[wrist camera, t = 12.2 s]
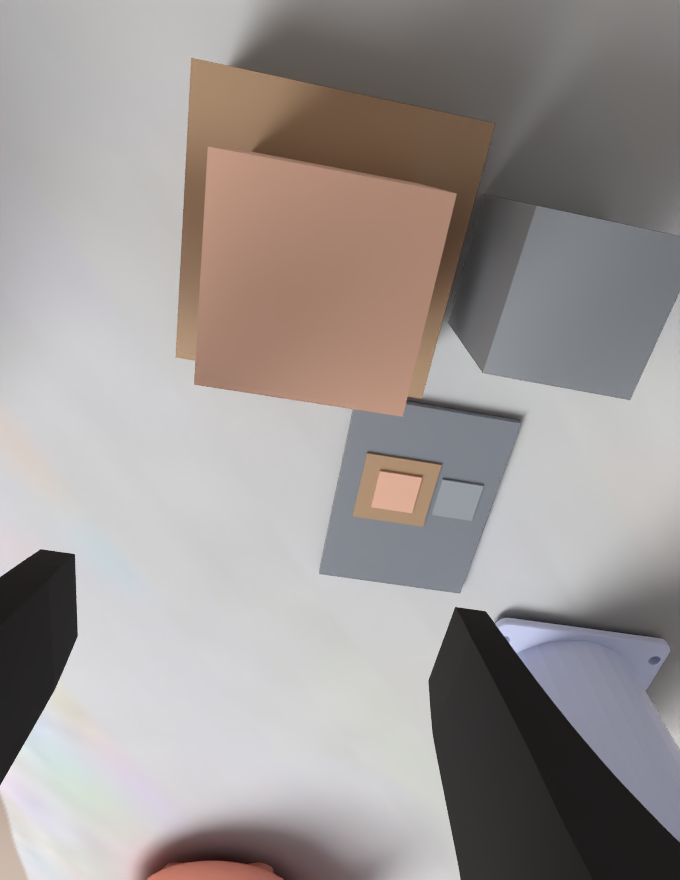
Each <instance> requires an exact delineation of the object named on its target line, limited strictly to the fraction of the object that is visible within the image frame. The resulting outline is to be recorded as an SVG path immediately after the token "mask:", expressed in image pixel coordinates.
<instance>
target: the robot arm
mask: <svg viewBox="0 0 680 880" xmlns="http://www.w3.org/2000/svg"><path fill="white" fill-rule="evenodd" d="M77 636H78V633H77V604H76V575H75V554H70V553H62V552H55V551H48V550H39V551H38V552H36V553H35V554H33V555H32V556H30V557H29V558H27V559H26V560H24V561H23V562H21V563H20V564H18V565H17V566H16V567H14V568H13V569H11V570H10V571H8V572H7V573H6V574H4V575H3V576H1V577H0V785H1V783H2V781H3V779H4V778H5V776H6V774H7V772H8V771H9V769H10V767H11V765H12V764H13V762H14V760H15V758H16V757H17V755H18V753H19V752H20V750H21V748H22V746H23V745H24V743H25V741H26V739H27V738H28V736H29V734H30V732H31V731H32V729H33V727H34V725H35V724H36V722H37V720H38V718H39V717H40V715H41V713H42V711H43V710H44V708H45V706H46V704H47V702H48V701H49V699H50V697H51V695H52V693H53V692H54V690H55V688H56V685H57V683H58V681H59V679H60V676H61V674H62V672H63V670H64V667H65V665H66V663H67V660H68V658H69V655H70V653H71V651H72V648H73V646H74V643H75V641H76V639H77ZM504 636H506V637H504ZM669 653H670V647H669V645H668V644H667V642H666V641H665V640H664V639H661V638H654V637H647V636H639V635H632V634H625V633H617V632H610V631H602V630H595V629H588V628H580V627H573V626H566V625H558V624H551V623H543V622H536V621H529V620H521V619H514V618H503V619H500V620H499V621H497V622H496V624H495V623H494V622H493V620H492V619H491V618H490V617H489V615H488V614H487V613H486V611H479V610H472V609H464V608H457V607H455V609H454V612H453V615H452V618H451V620H450V623H449V626H448V629H447V631H446V634H445V637H444V640H443V642H442V645H441V648H440V651H439V653H438V656H437V659H436V662H435V664H434V667H433V670H432V673H431V675H430V678H429V694H430V708H431V720H432V731H433V738H434V744H435V749H436V754H437V759H438V765H439V770H440V775H441V780H442V785H443V790H444V795H445V800H446V805H447V810H448V815H449V820H450V825H451V830H452V835H453V840H454V845H455V850H456V855H457V860H458V866H459V872H460V878H461V880H680V749H679V748H678V746H677V744H676V743H675V741H674V739H673V737H672V736H671V734H670V732H669V731H668V729H667V727H666V725H665V724H664V722H663V720H662V719H661V717H660V715H659V713H658V712H657V710H656V708H655V707H654V705H653V703H652V701H651V700H650V698H649V696H648V695H647V693H646V690H647V688H648V687H649V685H650V684H651V682H652V680H653V679H654V677H655V675H656V674H657V672H658V671H659V669H660V667H661V666H662V664H663V663H664V661H665V659H666V658H667V656H668V654H669Z"/></svg>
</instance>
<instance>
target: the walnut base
mask: <svg viewBox="0 0 680 880" xmlns="http://www.w3.org/2000/svg"><path fill="white" fill-rule="evenodd" d="M494 126H495V123H492V122H487V121H483V120H478V119H473V118H469V117H464V116H459V115H455V114H450V113H445V112H441V111H436V110H431V109H427V108H422V107H417V106H413V105H408V104H403V103H399V102H394V101H390V100H385V99H380V98H376V97H371V96H366V95H362V94H357V93H352V92H348V91H343V90H338V89H334V88H329V87H324V86H320V85H315V84H311V83H306V82H301V81H297V80H292V79H287V78H283V77H278V76H273V75H269V74H264V73H259V72H255V71H250V70H245V69H241V68H236V67H231V66H227V65H222V64H218V63H213V62H208V61H204V60H199V59H194V58H191V75H190V94H189V113H188V132H187V151H186V170H185V189H184V209H183V228H182V247H181V266H180V285H179V304H178V323H177V342H176V357H177V358H183V359H189V360H195V361H196V343H197V326H198V308H199V291H200V274H201V256H202V239H203V221H204V204H205V187H206V169H207V152H208V147H217V148H226V149H234V150H243V151H251V152H257V153H262V154H267V155H272V156H278V157H283V158H288V159H293V160H299V161H304V162H309V163H314V164H320V165H325V166H330V167H335V168H341V169H346V170H351V171H356V172H362V173H367V174H372V175H377V176H383V177H388V178H393V179H398V180H404V181H409V182H414V183H419V184H422V185H426V186H430V187H434V188H437V189H441V190H445V191H449V192H452V193H456V194H457V195H456V199H455V203H454V208H453V212H452V216H451V220H450V224H449V228H448V232H447V236H446V240H445V245H444V249H443V253H442V257H441V261H440V265H439V269H438V273H437V278H436V282H435V286H434V290H433V294H432V298H431V302H430V306H429V311H428V315H427V319H426V323H425V327H424V331H423V335H422V339H421V344H420V348H419V352H418V356H417V360H416V364H415V368H414V372H413V377H412V381H411V385H410V389H409V393H408V397H414V398H420V399H422V396H423V392H424V388H425V385H426V381H427V377H428V373H429V370H430V366H431V362H432V358H433V355H434V351H435V347H436V344H437V340H438V336H439V332H440V329H441V325H442V321H443V317H444V314H445V310H446V306H447V302H448V299H449V295H450V291H451V287H452V284H453V280H454V276H455V272H456V269H457V265H458V261H459V257H460V254H461V250H462V246H463V242H464V239H465V235H466V231H467V227H468V224H469V220H470V216H471V213H472V209H473V205H474V201H475V198H476V194H477V190H478V186H479V183H480V179H481V175H482V171H483V168H484V164H485V160H486V156H487V153H488V149H489V145H490V141H491V138H492V134H493V130H494Z"/></svg>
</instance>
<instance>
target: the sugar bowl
mask: <svg viewBox="0 0 680 880" xmlns="http://www.w3.org/2000/svg"><path fill="white" fill-rule="evenodd" d="M273 873H274V870H273V868H272V867H271V866H269V865H267V864H265V863H259V862H254V863H249V864H242V863H237V862H228V861H195V862H187V863H180V862H173V863H169V864H166V865H165V866H164V867H163V868H162V870H160V871H158V872H156V873H155V874H153V875H151V876H150V877H149V878H147V879H146V880H283V879H282V878H280V877H279V876H277V875H275V874H273Z"/></svg>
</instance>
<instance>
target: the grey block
mask: <svg viewBox="0 0 680 880" xmlns="http://www.w3.org/2000/svg"><path fill="white" fill-rule="evenodd" d="M679 292H680V236H677V235H672V234H668V233H663V232H658V231H654V230H649V229H644V228H640V227H635V226H631V225H626V224H621V223H617V222H612V221H607V220H603V219H598V218H593V217H589V216H584V215H579V214H575V213H570V212H565V211H561V210H556V209H551V208H546V207H542V206H537V205H532V204H528V203H523V202H518V201H514V200H509V199H504V198H500V197H495V196H490V195H485V194H484V196H483V200H482V203H481V207H480V210H479V214H478V217H477V221H476V225H475V228H474V232H473V235H472V239H471V242H470V246H469V249H468V253H467V257H466V260H465V264H464V267H463V271H462V274H461V278H460V282H459V285H458V289H457V292H456V296H455V299H454V303H453V306H452V310H451V314H450V317H449V321H448V323H449V325H450V326H451V328H452V329H453V331H454V332H455V334H456V335H457V336H458V338H459V339H460V341H461V342H462V344H463V345H464V347H465V348H466V349H467V351H468V352H469V354H470V355H471V357H472V358H473V360H474V361H475V362H476V364H477V365H478V367H479V368H480V370H481V371H482V373H485V374H491V375H496V376H502V377H507V378H513V379H518V380H524V381H529V382H534V383H540V384H545V385H551V386H556V387H562V388H567V389H573V390H578V391H583V392H589V393H594V394H600V395H605V396H611V397H616V398H622V399H627V400H630V399H631V397H632V395H633V393H634V390H635V388H636V386H637V384H638V382H639V379H640V377H641V375H642V373H643V371H644V368H645V366H646V364H647V362H648V360H649V358H650V355H651V353H652V351H653V349H654V347H655V344H656V342H657V340H658V338H659V336H660V333H661V331H662V329H663V327H664V325H665V323H666V320H667V318H668V316H669V314H670V312H671V309H672V307H673V305H674V303H675V301H676V298H677V296H678V294H679Z"/></svg>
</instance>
